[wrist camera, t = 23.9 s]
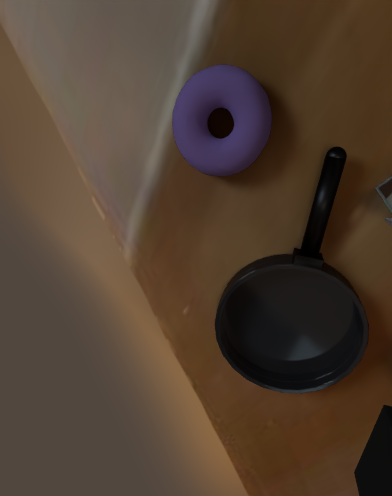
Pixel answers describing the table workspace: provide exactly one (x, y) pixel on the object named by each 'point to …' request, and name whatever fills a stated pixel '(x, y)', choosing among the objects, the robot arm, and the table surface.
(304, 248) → the pan handle
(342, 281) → the pan
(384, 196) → the food container
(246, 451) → the table surface
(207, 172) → the donut
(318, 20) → the table surface
